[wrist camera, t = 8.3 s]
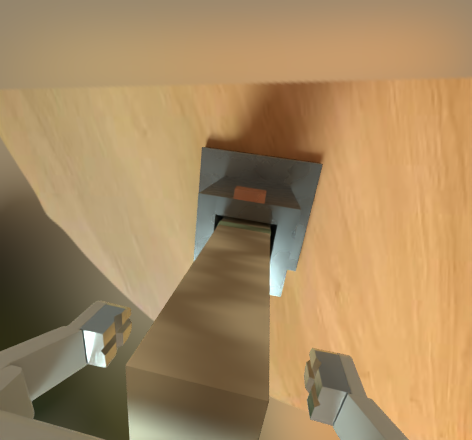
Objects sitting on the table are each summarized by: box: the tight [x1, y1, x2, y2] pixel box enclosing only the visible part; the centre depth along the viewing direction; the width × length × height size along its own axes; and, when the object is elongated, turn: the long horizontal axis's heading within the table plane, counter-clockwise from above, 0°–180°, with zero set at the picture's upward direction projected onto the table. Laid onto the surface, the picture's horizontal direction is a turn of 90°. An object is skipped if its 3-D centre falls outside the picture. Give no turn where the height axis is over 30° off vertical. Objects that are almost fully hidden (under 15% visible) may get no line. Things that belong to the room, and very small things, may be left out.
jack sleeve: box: [194, 147, 323, 297], centre depth 24 cm, size 14×14×12 cm
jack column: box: [126, 216, 271, 440], centre depth 14 cm, size 4×4×16 cm
